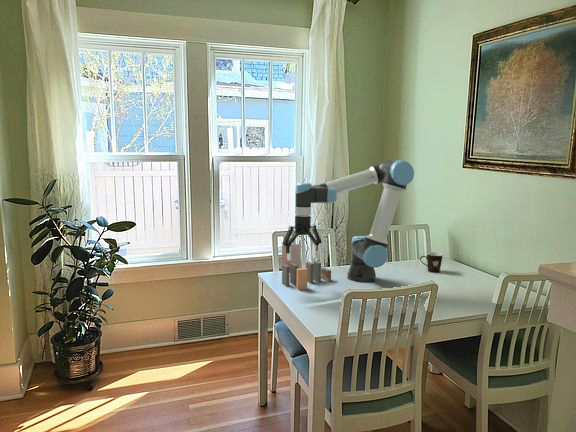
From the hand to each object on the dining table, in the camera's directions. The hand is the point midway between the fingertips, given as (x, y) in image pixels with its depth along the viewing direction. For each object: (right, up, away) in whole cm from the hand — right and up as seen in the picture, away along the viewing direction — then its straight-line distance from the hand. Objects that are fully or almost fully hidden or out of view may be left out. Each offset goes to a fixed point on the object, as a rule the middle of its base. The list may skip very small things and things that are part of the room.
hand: (301, 258), depth 211 cm
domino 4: (+8, -13, +16) cm, 22 cm away
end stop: (+13, -13, +18) cm, 26 cm away
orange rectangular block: (0, -15, +2) cm, 15 cm away
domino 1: (-8, -14, +8) cm, 18 cm away
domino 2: (-4, -14, +10) cm, 17 cm away
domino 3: (+4, -13, +14) cm, 20 cm away
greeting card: (-4, -11, +33) cm, 35 cm away
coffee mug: (+75, -11, +39) cm, 86 cm away
